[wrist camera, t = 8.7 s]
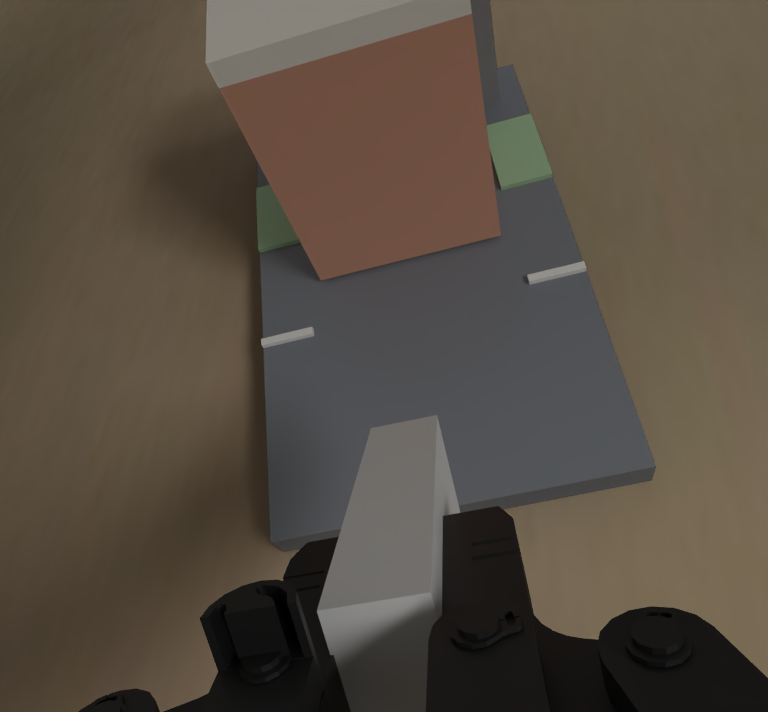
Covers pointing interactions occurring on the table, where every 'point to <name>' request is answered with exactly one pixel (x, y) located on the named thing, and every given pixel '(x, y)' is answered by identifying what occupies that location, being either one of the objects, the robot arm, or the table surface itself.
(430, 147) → the orange box with lid
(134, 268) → the table surface
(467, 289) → the base
